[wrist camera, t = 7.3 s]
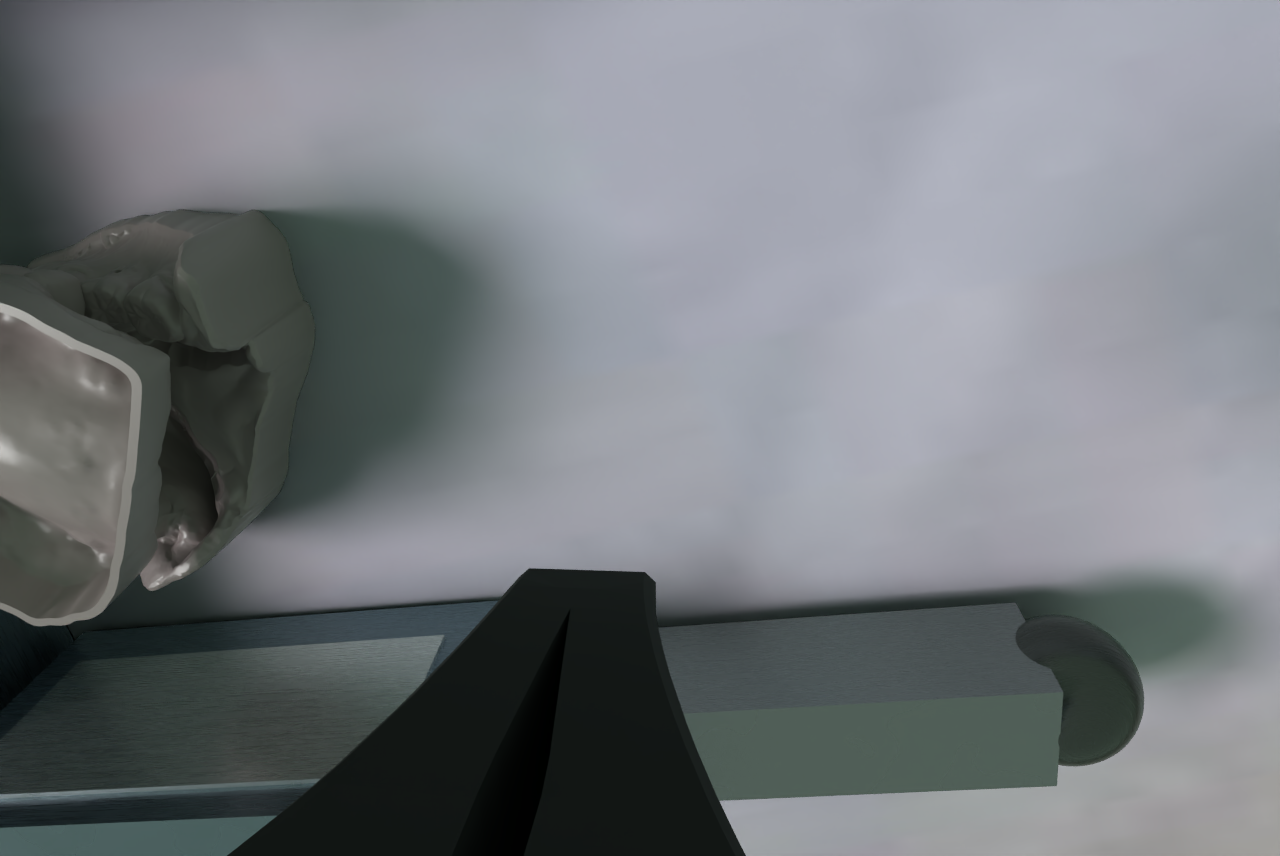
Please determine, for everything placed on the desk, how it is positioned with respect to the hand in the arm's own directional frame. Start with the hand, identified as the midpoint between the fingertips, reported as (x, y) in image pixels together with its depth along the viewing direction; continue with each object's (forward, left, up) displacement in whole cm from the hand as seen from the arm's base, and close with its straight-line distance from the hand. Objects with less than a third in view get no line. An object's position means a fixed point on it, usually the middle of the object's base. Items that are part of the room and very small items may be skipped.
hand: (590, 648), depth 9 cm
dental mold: (+1, +10, -10) cm, 14 cm away
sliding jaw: (-8, +3, -9) cm, 12 cm away
